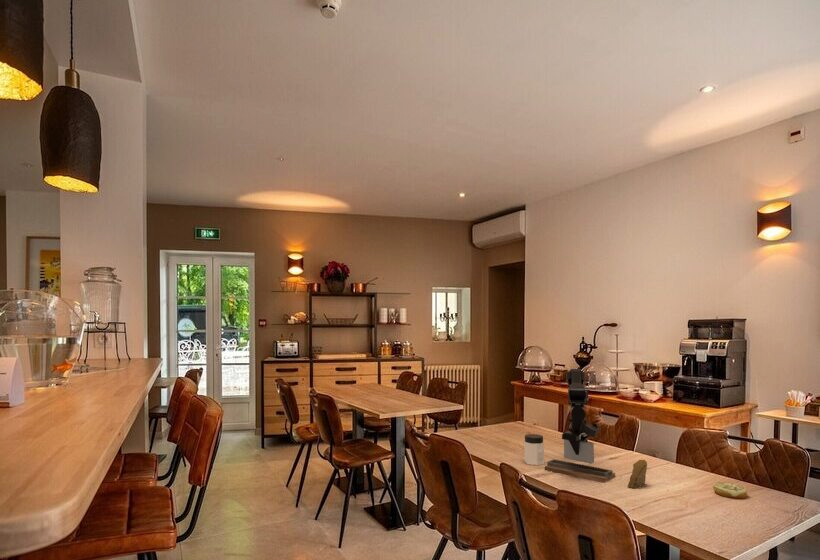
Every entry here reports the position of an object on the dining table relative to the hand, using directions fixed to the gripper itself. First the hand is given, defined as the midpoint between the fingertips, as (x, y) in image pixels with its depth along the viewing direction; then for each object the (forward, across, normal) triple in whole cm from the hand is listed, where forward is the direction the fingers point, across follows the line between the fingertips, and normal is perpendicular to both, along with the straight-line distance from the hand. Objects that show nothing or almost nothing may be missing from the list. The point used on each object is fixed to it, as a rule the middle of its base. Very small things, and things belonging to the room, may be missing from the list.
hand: (578, 454), depth 220 cm
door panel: (+3, 0, 0) cm, 3 cm away
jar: (+8, +2, +22) cm, 24 cm away
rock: (+8, 0, -23) cm, 24 cm away
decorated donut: (+8, +12, -53) cm, 55 cm away
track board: (+8, 0, 0) cm, 8 cm away
